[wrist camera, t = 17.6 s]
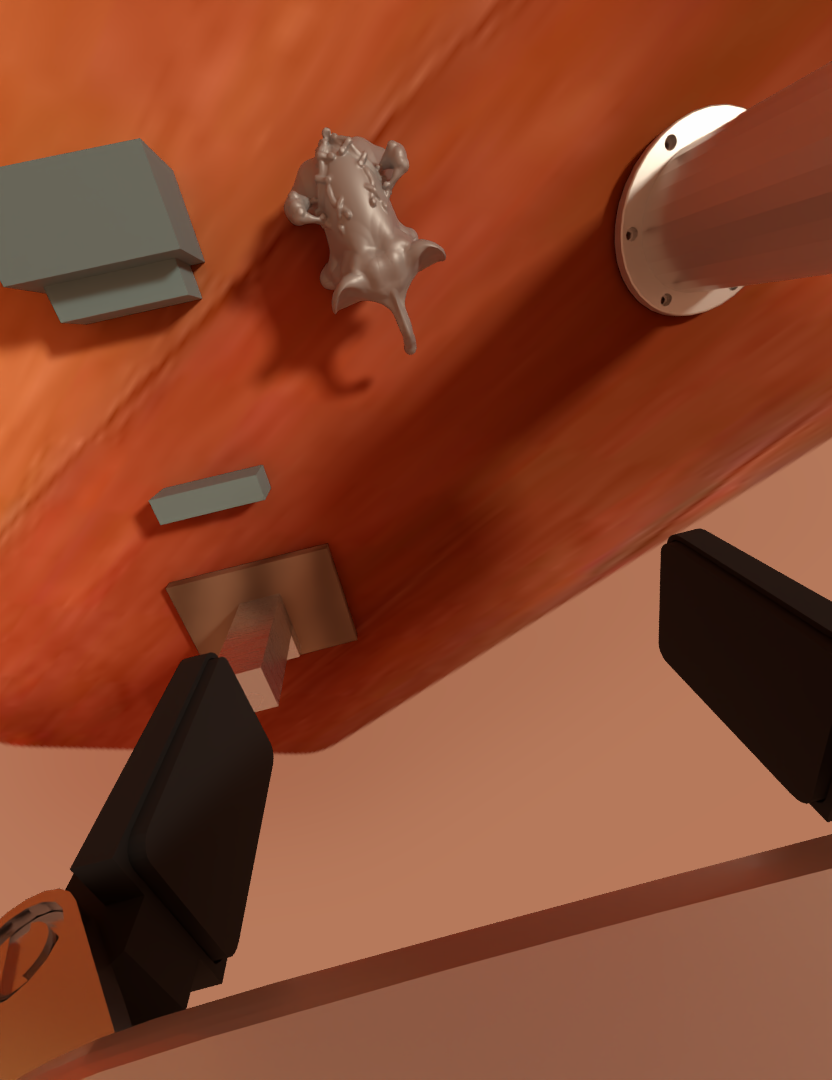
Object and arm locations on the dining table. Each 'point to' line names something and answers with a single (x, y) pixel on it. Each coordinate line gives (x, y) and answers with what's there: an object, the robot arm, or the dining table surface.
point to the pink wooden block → (261, 649)
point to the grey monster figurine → (361, 224)
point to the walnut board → (294, 575)
